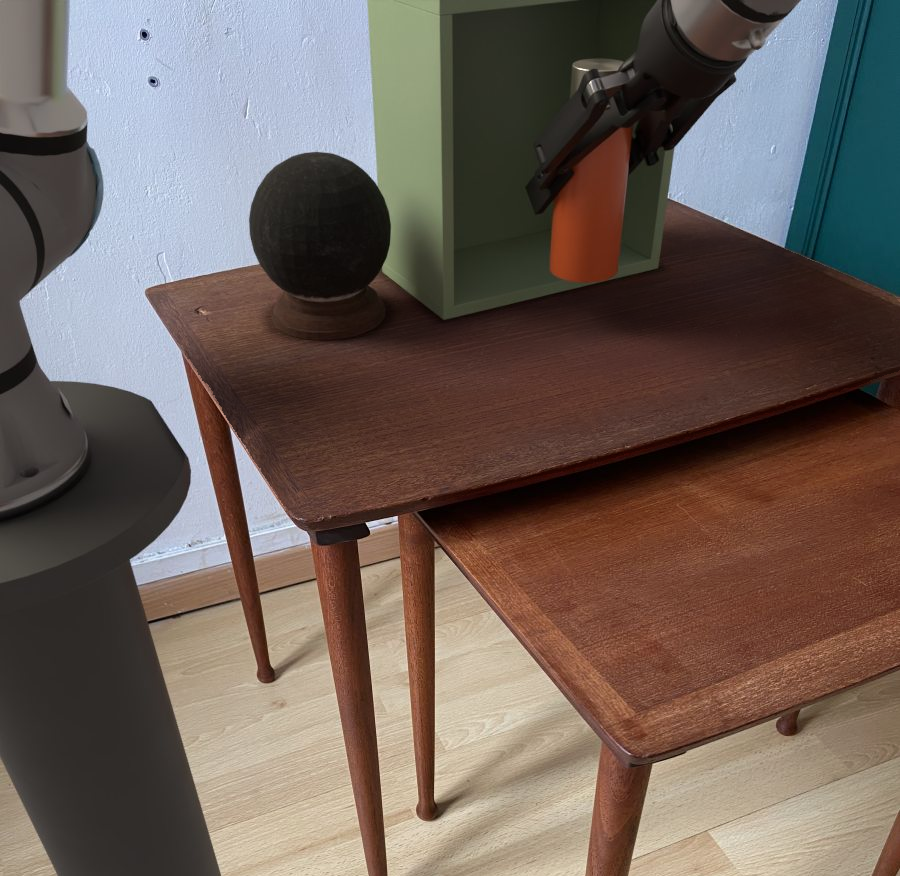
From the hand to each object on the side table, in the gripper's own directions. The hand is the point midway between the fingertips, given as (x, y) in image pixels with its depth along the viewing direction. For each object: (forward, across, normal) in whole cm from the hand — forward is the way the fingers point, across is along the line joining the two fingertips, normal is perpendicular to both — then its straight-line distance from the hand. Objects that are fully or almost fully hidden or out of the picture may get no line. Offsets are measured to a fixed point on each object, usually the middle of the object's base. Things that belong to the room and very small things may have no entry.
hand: (566, 193), depth 88 cm
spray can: (+2, 0, -7) cm, 7 cm away
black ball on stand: (+15, -21, -1) cm, 26 cm away
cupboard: (+15, +2, -1) cm, 15 cm away
